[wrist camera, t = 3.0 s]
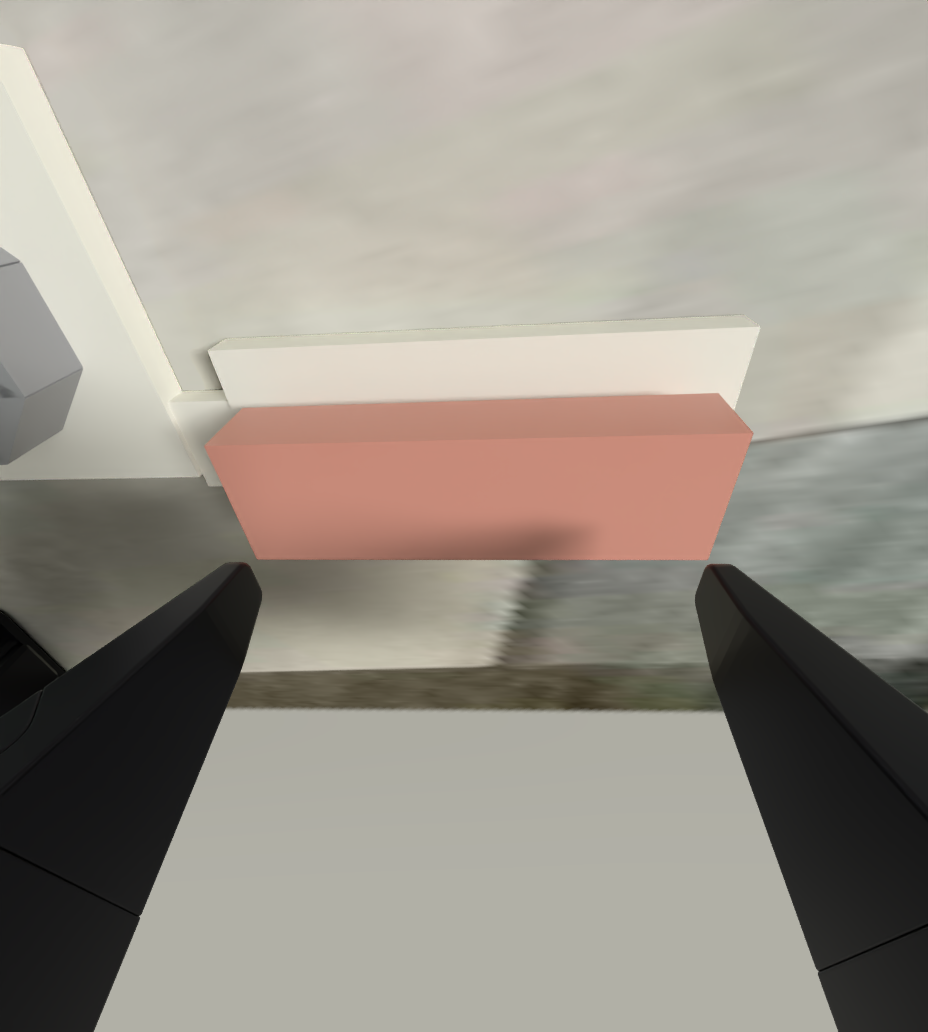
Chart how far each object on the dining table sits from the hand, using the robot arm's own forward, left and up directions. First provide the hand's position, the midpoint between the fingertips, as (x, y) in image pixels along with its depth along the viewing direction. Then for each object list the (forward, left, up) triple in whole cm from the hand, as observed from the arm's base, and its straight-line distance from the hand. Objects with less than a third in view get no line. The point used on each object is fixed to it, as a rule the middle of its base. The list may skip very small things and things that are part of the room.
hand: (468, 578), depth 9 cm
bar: (0, 0, -4) cm, 5 cm away
